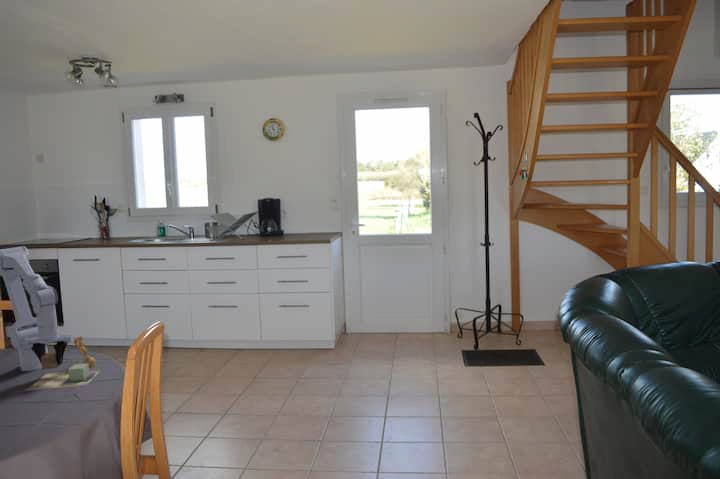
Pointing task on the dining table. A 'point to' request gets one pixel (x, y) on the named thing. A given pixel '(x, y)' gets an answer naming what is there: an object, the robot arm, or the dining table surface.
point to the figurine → (88, 359)
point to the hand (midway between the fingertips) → (52, 364)
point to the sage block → (78, 372)
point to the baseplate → (61, 380)
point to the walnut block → (49, 361)
